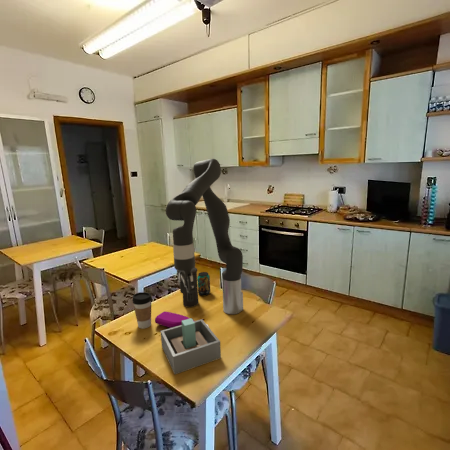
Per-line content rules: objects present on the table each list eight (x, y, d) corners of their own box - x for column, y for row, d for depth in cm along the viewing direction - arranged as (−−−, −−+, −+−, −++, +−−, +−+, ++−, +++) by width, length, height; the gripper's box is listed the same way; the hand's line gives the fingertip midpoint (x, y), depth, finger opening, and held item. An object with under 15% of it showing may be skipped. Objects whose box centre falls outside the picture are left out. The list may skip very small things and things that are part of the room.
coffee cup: (137, 320, 134) (134, 291, 131) (155, 319, 134) (152, 290, 131) (133, 330, 126) (129, 299, 123) (152, 329, 126) (149, 298, 123)
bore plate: (198, 337, 117) (198, 330, 117) (210, 353, 107) (209, 346, 106) (170, 346, 112) (170, 339, 112) (180, 364, 102) (179, 356, 101)
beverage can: (203, 297, 156) (202, 277, 154) (195, 293, 161) (194, 273, 159) (212, 293, 161) (212, 273, 158) (205, 289, 166) (204, 270, 163)
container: (201, 300, 152) (199, 265, 148) (195, 308, 144) (193, 271, 140) (186, 299, 154) (184, 264, 150) (180, 307, 146) (177, 270, 142)
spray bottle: (164, 316, 137) (211, 327, 130) (152, 324, 126) (202, 337, 119) (165, 310, 137) (212, 321, 129) (152, 317, 126) (203, 330, 119)
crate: (202, 333, 121) (202, 319, 120) (220, 357, 106) (220, 341, 104) (161, 346, 114) (160, 330, 112) (174, 374, 98) (173, 356, 96)
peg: (193, 345, 112) (191, 318, 110) (196, 351, 108) (194, 323, 106) (183, 348, 110) (181, 320, 108) (186, 354, 107) (184, 325, 104)
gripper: (201, 258, 97) (203, 302, 100) (187, 249, 110) (189, 287, 113) (180, 262, 94) (183, 307, 97) (168, 252, 106) (171, 291, 110)
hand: (186, 296), depth 105 cm, fingers open, 8 cm apart
